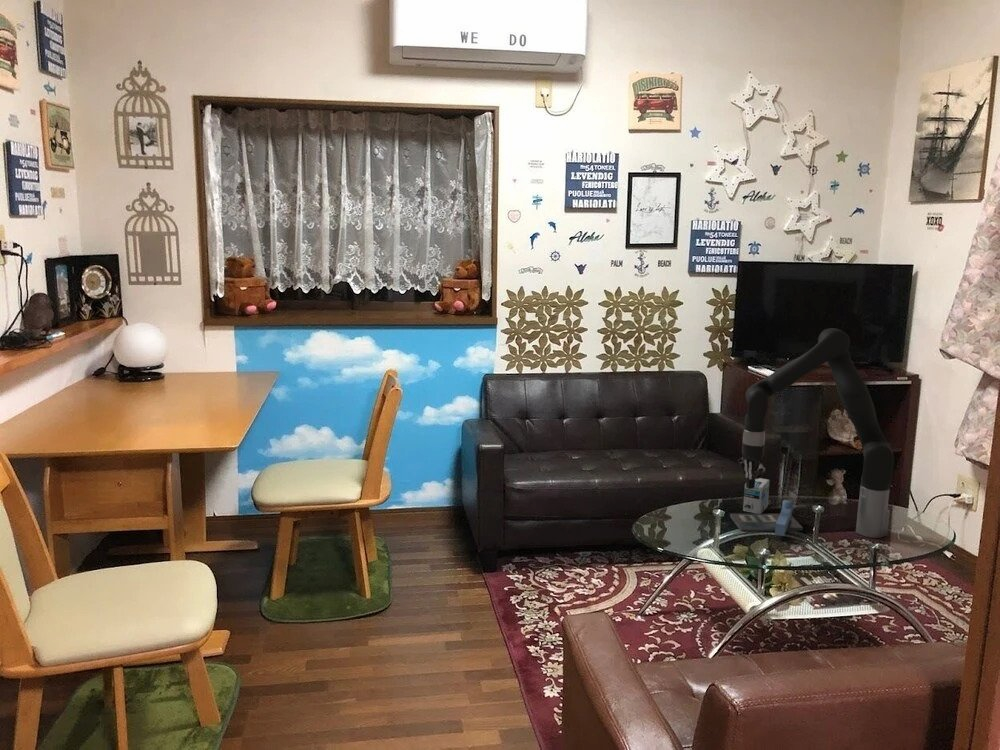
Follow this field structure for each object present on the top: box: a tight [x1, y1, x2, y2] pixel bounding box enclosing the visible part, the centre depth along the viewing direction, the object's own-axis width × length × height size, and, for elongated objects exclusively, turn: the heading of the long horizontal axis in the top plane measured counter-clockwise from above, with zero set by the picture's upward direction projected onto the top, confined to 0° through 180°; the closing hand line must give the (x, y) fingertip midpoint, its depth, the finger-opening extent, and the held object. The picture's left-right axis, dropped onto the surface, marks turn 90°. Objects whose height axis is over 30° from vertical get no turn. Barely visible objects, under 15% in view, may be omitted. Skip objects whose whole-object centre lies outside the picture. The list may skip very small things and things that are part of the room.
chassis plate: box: [729, 513, 804, 532], centre depth 288 cm, size 22×13×2 cm, turn 90°
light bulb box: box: [742, 477, 770, 514], centre depth 301 cm, size 11×7×11 cm, turn 147°
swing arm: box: [774, 499, 794, 537], centre depth 281 cm, size 20×4×6 cm, turn 153°
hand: (750, 488), depth 287 cm, fingers closed
